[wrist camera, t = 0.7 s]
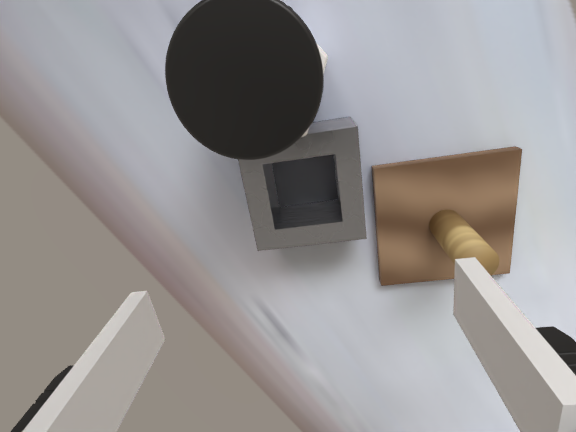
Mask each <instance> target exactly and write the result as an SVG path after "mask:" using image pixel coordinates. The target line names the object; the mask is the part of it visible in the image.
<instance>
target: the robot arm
mask: <svg viewBox="0 0 576 432" xmlns="http://www.w3.org/2000/svg"><path fill="white" fill-rule="evenodd" d="M453 315H454V316H455V318H456V320H457V322H458V323H459V325H460V327H461V329H462V330H463V332H464V334H465V336H466V337H467V339H468V341H469V343H470V344H471V346H472V348H473V350H474V351H475V353H476V355H477V357H478V358H479V360H480V362H481V364H482V365H483V367H484V369H485V371H486V372H487V374H488V376H489V378H490V379H491V381H492V383H493V385H494V386H495V388H496V390H497V392H498V393H499V395H500V397H501V399H502V400H503V402H504V404H505V406H506V407H507V409H508V411H509V413H510V414H511V416H512V418H513V420H514V421H515V423H516V425H517V427H518V428H519V430H520V432H576V342H575V341H574V340H573V339H572V338H571V337H570V336H568V335H566V334H565V333H563V332H561V331H560V330H558V329H557V328H555V327H541V328H535V327H534V326H533V325H532V324H531V322H530V321H529V320H528V319H527V318H526V317H525V315H524V314H523V313H522V312H521V311H520V309H519V308H518V307H517V306H516V305H515V304H514V302H513V301H512V300H511V299H510V298H509V297H508V295H507V294H506V293H505V292H504V291H503V290H502V288H501V287H500V286H499V285H498V284H497V282H496V281H495V280H494V279H493V278H492V277H491V275H490V274H489V273H488V272H487V271H486V270H485V268H484V267H483V266H482V265H481V264H480V263H479V261H478V260H477V259H476V258H475V257H472V258H462V259H455V276H454V311H453ZM164 341H165V337H164V334H163V331H162V329H161V326H160V324H159V321H158V318H157V316H156V313H155V310H154V307H153V305H152V302H151V299H150V296H149V294H148V291H140V292H131V293H130V295H129V296H128V297H127V299H126V300H125V301H124V302H123V304H122V305H121V306H120V307H119V309H118V310H117V311H116V313H115V314H114V315H113V316H112V318H111V319H110V320H109V321H108V323H107V324H106V325H105V327H104V328H103V330H102V331H101V332H100V333H99V334H98V336H97V337H96V338H95V340H94V341H93V342H92V343H91V345H90V346H89V347H88V348H87V350H86V351H85V352H84V353H83V355H82V356H81V357H80V359H79V360H78V361H77V362H76V364H75V365H74V366H68V367H67V368H66V369H65V370H63V371H62V372H61V373H60V374H58V375H57V376H56V377H55V378H54V379H53V380H52V381H51V383H50V384H49V385H48V386H47V388H46V389H45V391H44V393H42V394H41V395H40V396H39V398H38V399H37V400H36V403H35V404H33V405H32V406H31V407H30V409H29V410H28V411H27V412H26V413H25V415H24V416H23V417H22V419H21V420H20V421H19V422H18V423H17V425H16V426H15V427H14V428H13V429H12V431H11V432H117V430H118V428H119V426H120V424H121V422H122V420H123V418H124V417H125V415H126V413H127V411H128V409H129V407H130V405H131V403H132V401H133V399H134V398H135V395H136V394H137V392H138V390H139V388H140V386H141V384H142V382H143V381H144V379H145V377H146V375H147V373H148V371H149V369H150V367H151V365H152V363H153V361H154V360H155V358H156V356H157V354H158V352H159V350H160V348H161V346H162V344H163V342H164Z"/></svg>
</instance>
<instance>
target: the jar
mask: <svg viewBox="0 0 576 432" xmlns="http://www.w3.org/2000/svg"><path fill="white" fill-rule="evenodd" d="M327 60H328V56H327V54H326V53H325V52H324V51H323V50H322V49H321V48H320V46H319V45H318V44H317V43H316V41H315V39H314V37H313V35H312V33H311V32H310V30H309V28H308V27H307V25H306V24H305V23H304V21H303V20H302V19H301V18H300V16H299V15H298V14H296V13H295V12H294V11H293V9H292V8H291V7H290V6H287V5H286V4H285V3H283V2H282V1H280V0H202V1H201V2H199V3H198V4H196V5H195V6H194V7H193V8H192V9H191V10H189V11H188V12H187V14H186V15H185V16H184V17H183V18H182V20H181V21H180V23H179V24H178V26H177V27H176V29H175V31H174V33H173V35H172V38H171V40H170V43H169V47H168V51H167V56H166V65H165V75H166V85H167V90H168V94H169V98H170V101H171V104H172V106H173V108H174V111H175V113H176V114H177V116H178V118H179V120H180V121H181V123H182V124H183V126H184V127H185V128H186V129H187V131H188V132H189V133H190V134H191V135H192V136H193V137H194V138H195V139H196V140H197V141H199V142H200V143H201V144H202V145H204V146H205V147H207V148H208V149H210V150H212V151H214V152H216V153H218V154H221V155H223V156H226V157H230V158H234V159H241V160H256V159H263V158H267V157H270V156H273V155H276V154H278V153H280V152H282V151H284V150H286V149H287V148H289V147H290V146H292V145H293V144H294V143H295V142H297V141H298V140H299V139H300V138H301V137H304V136H306V135H307V133H308V130H309V127H310V125H311V123H312V122H313V120H314V118H315V116H316V114H317V111H318V109H319V106H320V102H321V98H322V93H323V81H324V80H323V74H324V71H325V67H326V63H327Z"/></svg>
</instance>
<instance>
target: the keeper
mask: <svg viewBox="0 0 576 432" xmlns="http://www.w3.org/2000/svg"><path fill="white" fill-rule="evenodd" d="M521 155H522V149H520V148H518V147H508V148H501V149H493V150H486V151H479V152H471V153H464V154H456V155H449V156H442V157H434V158H427V159H419V160H412V161H405V162H397V163H390V164H382V165H375V166H372V176H373V191H374V205H375V220H376V235H377V250H378V265H379V280H380V283H381V286H383V285H394V284H404V283H414V282H425V281H435V280H445V279H454V276H455V259H462V258H472V257H475V258H476V259H477V260H478V261H479V263H480V264H481V265H482V266H483V267H484V268H485V270H486V271H487V272H488V273H489V274H490V275H497V274H507V273H510V265H511V255H512V245H513V235H514V225H515V215H516V205H517V195H518V185H519V175H520V165H521Z"/></svg>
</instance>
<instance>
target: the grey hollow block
mask: <svg viewBox="0 0 576 432" xmlns="http://www.w3.org/2000/svg"><path fill="white" fill-rule="evenodd" d="M326 155H333V157H334V166H335V175H336V184H337V193H338V199H337V200H330V201H322V202H314V203H306V204H298V205H290V206H282V207H280V206H279V200H278V195H277V189H276V184H275V178H274V173H273V167H272V163H276V162H283V161H290V160H297V159H304V158H311V157H318V156H326ZM238 161H239V166H240V171H241V175H242V180H243V184H244V189H245V194H246V198H247V203H248V208H249V212H250V217H251V221H252V226H253V231H254V235H255V240H256V245H257V249H258V251H261V250H270V249H279V248H288V247H297V246H306V245H315V244H323V243H332V242H341V241H350V240H359V239H367V238H366V226H365V213H364V200H363V188H362V175H361V163H360V150H359V138H358V126H357V125H356V124H355V122H354V121H353V120H352V118H351V117H345V118H339V119H332V120H325V121H319V122H312V123H311V125H310V127H309V130H308V133H307V135H306V136H304V137H301V138H300V139H299V140H298V141H297V142H295V143H294V144H293V145H292V146H290V147H289V148H287V149H286V150H284V151H282V152H280V153H278V154H276V155H273V156H270V157H267V158H263V159H256V160H241V159H238Z"/></svg>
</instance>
